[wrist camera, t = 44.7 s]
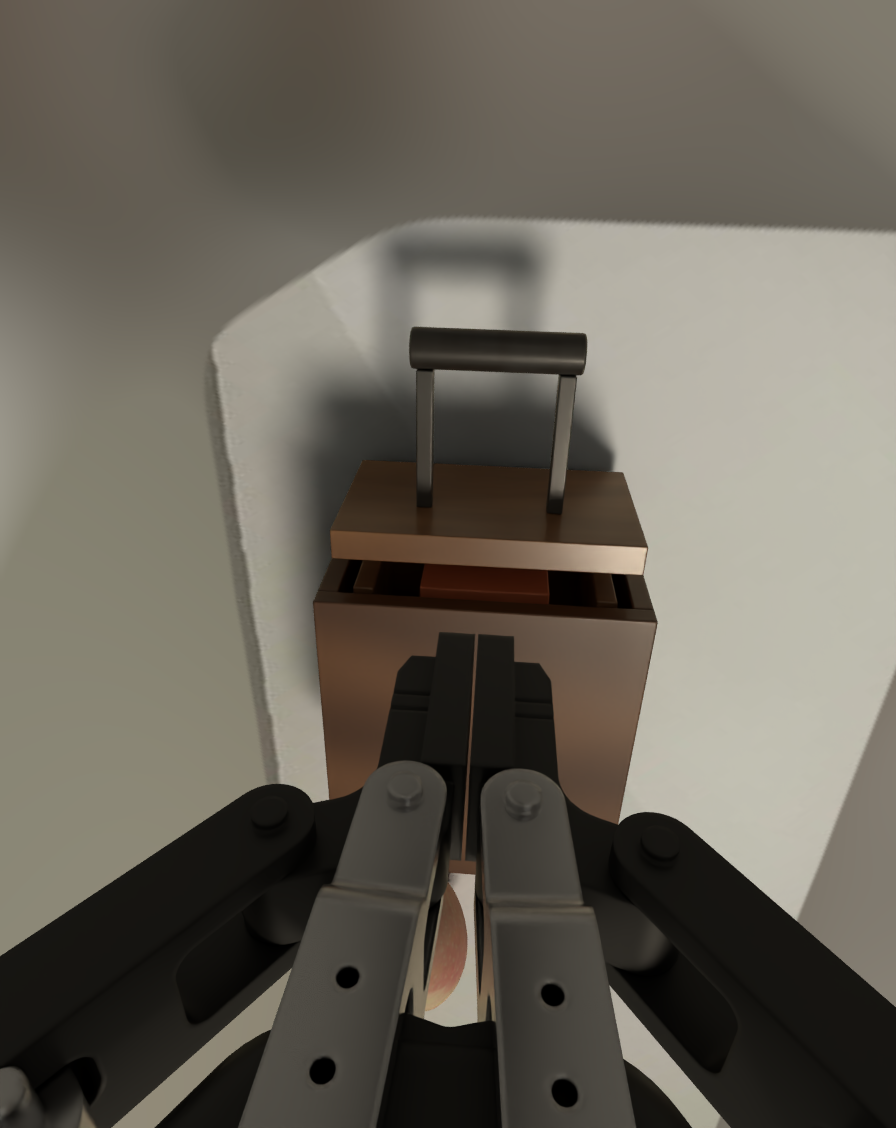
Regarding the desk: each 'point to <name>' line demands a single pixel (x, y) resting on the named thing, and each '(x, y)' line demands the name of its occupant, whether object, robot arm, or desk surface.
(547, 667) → the cabinet
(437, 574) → the block
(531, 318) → the desk surface
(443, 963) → the apple
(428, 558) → the drawer
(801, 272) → the desk surface
